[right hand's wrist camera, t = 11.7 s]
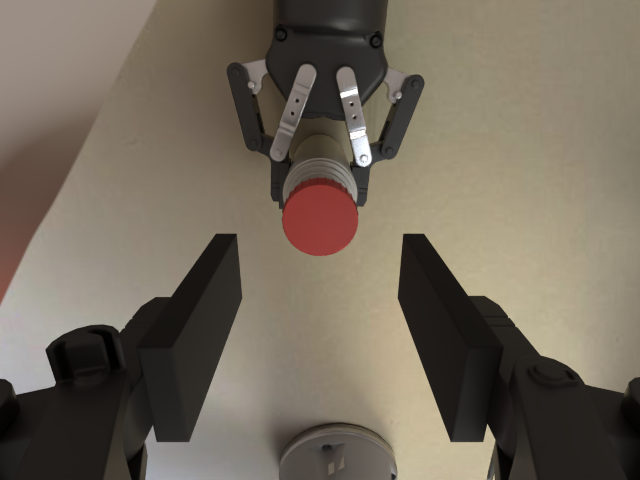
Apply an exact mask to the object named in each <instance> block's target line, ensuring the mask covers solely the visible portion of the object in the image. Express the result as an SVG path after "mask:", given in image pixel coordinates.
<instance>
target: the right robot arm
mask: <svg viewBox="0 0 640 480" xmlns="http://www.w3.org/2000/svg"><path fill="white" fill-rule="evenodd" d="M241 300H242V290H241V278H240V267H239V256H238V244H237V234H216V235H215V236H214V237H213V239H212V240H211V242H210V243H209V244H208V246H207V247H206V249H205V250H204V251H203V253H202V254H201V256H200V257H199V259H198V260H197V261H196V263H195V264H194V266H193V267H192V268H191V270H190V271H189V273H188V274H187V275H186V277H185V278H184V280H183V281H182V282H181V284H180V285H179V287H178V288H177V289H176V291H175V292H174V294H173V295H172V297H155V298H154V299H152V300H151V301H149V302H147V303H146V304H144V305H143V306H141V307H140V309H139V310H138V311H137V312H136V313H135V315H134V316H133V317H132V319H131V320H130V321H129V322H128V323H127V324H126V326H125V329H122V331H121V332H120V333H119V331H118V330H117V329H115V328H114V327H113V326H108V325H90V326H86V327H82V328H78V329H75V330H73V331H70V332H68V333H66V334H63V335H62V336H60V337H59V338H57V339H56V340H54V341H53V342H52V343H51V344H50V345H49V346H48V347H47V348H46V350H45V351H46V354H47V357H48V360H49V363H50V366H51V369H52V372H53V375H54V378H55V381H56V384H55V386H54V387H50V388H46V389H42V390H37V391H32V392H28V393H23V394H19V395H16V394H15V391H14V389H13V386H12V384H11V383H10V382H8V381H7V380H6V379H0V480H145V475H146V466H147V457H148V456H147V450H146V445H145V440H146V438H147V436H148V434H149V432H150V429H151V427H152V425H153V427H154V431H155V436H156V440H157V442H189V441H190V438H191V435H192V433H193V430H194V427H195V425H196V422H197V419H198V417H199V414H200V411H201V408H202V406H203V403H204V400H205V398H206V395H207V392H208V389H209V387H210V384H211V381H212V379H213V376H214V373H215V370H216V368H217V365H218V362H219V360H220V357H221V354H222V352H223V349H224V346H225V343H226V341H227V338H228V335H229V333H230V330H231V327H232V324H233V322H234V319H235V316H236V314H237V311H238V308H239V306H240V303H241ZM398 300H399V303H400V306H401V308H402V311H403V314H404V316H405V319H406V322H407V324H408V327H409V330H410V333H411V335H412V338H413V341H414V343H415V346H416V349H417V352H418V354H419V357H420V360H421V362H422V365H423V368H424V370H425V373H426V376H427V379H428V381H429V384H430V387H431V389H432V392H433V395H434V398H435V400H436V403H437V406H438V408H439V411H440V414H441V417H442V419H443V422H444V425H445V427H446V430H447V433H448V435H449V438H450V441H451V442H483V440H484V436H485V431H486V427H487V424H488V426H489V428H490V430H491V432H492V434H493V436H494V438H495V440H496V441H495V445H494V449H493V453H492V458H491V462H490V466H489V470H488V476H487V480H493V476H494V474H495V480H640V377H638V378H634V379H633V380H631V381H630V382H629V384H628V386H627V389H626V391H625V393H620V392H615V391H611V390H606V389H601V388H597V387H592V386H588V385H585V384H584V382H583V380H582V379H581V378H580V376H579V375H578V374H577V373H576V372H575V371H573V370H572V369H571V368H570V367H568V366H567V365H565V364H563V363H561V362H559V361H557V360H555V359H551V358H548V357H544V356H540V354H539V353H538V352H537V351H536V350H535V348H534V347H533V346H532V345H531V343H530V342H529V341H528V340H527V339H526V337H525V336H524V335H523V334H522V333H521V331H520V330H519V329H518V328H517V327H515V324H514V323H513V322H512V320H511V319H510V318H508V315H507V314H506V313H505V312H504V311H503V309H502V308H501V307H500V306H499V305H498V304H496V303H495V302H493V301H492V300H490V299H489V298H487V297H485V296H468V295H467V294H466V292H465V291H464V289H463V288H462V287H461V285H460V284H459V282H458V281H457V280H456V278H455V277H454V275H453V274H452V273H451V271H450V270H449V268H448V267H447V266H446V264H445V263H444V261H443V260H442V259H441V257H440V256H439V254H438V253H437V251H436V250H435V249H434V247H433V246H432V244H431V243H430V242H429V240H428V239H427V237H426V236H425V235H424V234H403V244H402V256H401V267H400V278H399V289H398ZM279 480H397V467H396V462H395V457H394V454H393V452H392V450H391V448H390V446H389V445H388V444H387V443H386V442H385V441H384V439H382V438H381V437H380V436H378V435H377V434H375V433H373V432H372V431H369V430H367V429H365V428H361V427H358V426H353V425H346V424H331V425H324V426H319V427H316V428H313V429H310V430H308V431H306V432H303V433H302V434H300V435H299V436H297V437H296V438H294V439H293V440H292V441H291V442H290V443H289V444H288V445H287V447H286V448H285V450H284V452H283V454H282V457H281V461H280V470H279Z"/></svg>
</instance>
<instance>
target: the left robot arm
mask: <svg viewBox="0 0 640 480" xmlns="http://www.w3.org/2000/svg"><path fill="white" fill-rule="evenodd" d="M387 5H388V0H274V13H273V40H272V44H271V46H270V49H269V50H268V52H267V54H266V58H265V59H262V60H257V61H253V62H248V63H244V64H241V63H231V64H230V65H229V66H228V68H227V75H228V79H229V83H230V87H231V90H232V94H233V98H234V102H235V106H236V110H237V113H238V117H239V121H240V125H241V129H242V132H243V136H244V140H245V144H246V146H247V148H248V149H249V150H251V151H258V152H260V153H262V154H265V155H266V156H268V157H269V159H270V161H271V197H272V199H273V201H277V202H279V209H283V208H284V201H283V187H284V183H285V180H286V177H287V175H288V172H289V169H290V167H291V158H289V148H290V146H291V143H292V140H293V138H294V135H295V132H296V130H297V127H298V125H299V122H300V120H301V117H302V118H311V119H313V118H318V117H322V116H324V117H327V118H330V119H333V120H341V121H345V124H346V128H347V132H348V136H349V140H350V144H351V148H352V152H353V162H350V169H351V172H352V174H353V177H354V180H355V182H356V186H357V201H356V206H362V207H363V206H364V204H365V202H366V199H367V190H368V181H369V173H370V168H371V166H372V165H373V164H374V163H375V162H378V161H381V160H384V159H392V158H394V157H395V156H396V154H397V152H398V150H399V147H400V145H401V142H402V140H403V137H404V135H405V132H406V130H407V127H408V125H409V122H410V120H411V117H412V115H413V112H414V110H415V107H416V105H417V102H418V100H419V97H420V95H421V92H422V90H423V87H424V79H423V78H422V77H421V76H420V75H407V74H404V73H402V72H399V71H396V70H394V69H391V68H388V63H387V60H386V57H385V54H384V49H383V41H384V32H385V23H386V14H387ZM267 74H269V75H270V77H271V78H272V80H273V81H274V83H275V85H276V86H277V88H278V89H279V91H280V93H281V94H282V96H283V97H284V99H285V101H286V102H287V104H286V107H285V110H284V113H283V115H282V118H281V121H280V124H279V127H278V130H277V133H276V136H275V138H274V137H271V136H269V135H267V134H265V130H264V126H263V122H262V118H261V114H260V110H259V105H258V101H257V97H256V94H258V93H260V92H261V91H262V89H263V79H264V77H265V76H266V75H267ZM382 82H384V83H385V84H386V86H387V94H386V96H387V99H388V101H389V102H391V103H392V105H391V108H390V111H389V113H388V116H387V119H386V121H385V124H384V127H383V129H382V132H381V135H380V137H379V140H378V141H377V142H374V143H370V144H369V141H368V137H367V130H366V125H365V121H364V116H363V112H362V106H363V105H364V104H365V103H366V101H367V100H368V99H369V98H370V97H371V95H372V94H373V93H374V92H375V90H376V89H377V88H378V87H379V86H380V84H381V83H382Z"/></svg>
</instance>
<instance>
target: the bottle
mask: <svg viewBox="0 0 640 480" xmlns="http://www.w3.org/2000/svg"><path fill="white" fill-rule="evenodd" d="M317 177H318V178H325V177H326V178H327V179H331V180H332V179H334V181H336V182H338V183H341V185H343V186H344V187H345V188H347V189H348V191H349V193H350V194H352V196H353V201H354V200H355V203H356V201H357V186H356V182H355V180H354V177H353V174H352V172H351V169H350V166H349V164H348V161H347V158H346V156H345V153H344V150H343V148H342V147H341V145H340V144H339V143H338V142H337V141H336V140H335V139H334V138H332V137H330V136H327V135H313V136H310V137H308V138H306V139H305V140H304V141H303V142H302V143H301V144H300V145H299V147H298V148H297V150H296V153H295V156H294V158H293V161H292V164H291V167H290V169H289V172H288V175H287V177H286V180H285V183H284V187H283V201H284V205H285V201H286V198H288V197H289V193H290V191H291V192H292V191H293V189H294V188H295V186H298V185H299V184H300V183H301V182H302V181H303V182H304V181H306V180H309V178H310V179H313V178H317Z"/></svg>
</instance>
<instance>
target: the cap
mask: <svg viewBox="0 0 640 480" xmlns="http://www.w3.org/2000/svg"><path fill="white" fill-rule="evenodd" d="M282 213H283V217H282V223H283V229H284V232H285V234H286V236H287V238H288V240H289V241H290V242H291V244H293V245H294V246H295V247H296V248H297V249H298V250H300V251H302V252H304V253H306V254H310V255H314V256H326V255H331V254H334V253H336V252H338V251H340V250H342V249H343V248H345V247H346V246H347V245H348V244H349V243H350V242H351V240H352V239H353V237H354V235H355V233H356V230H357V226H358V211H357V206H356V203H355V200H354V201H353V196H352V194H350V193H349V191H348V189H347V188H345V187H344V186H343V185H341V183H338V182H336V181H334V179H332V180H331V179H327V178H326V177H325V178H318V177H317V178H313V179H310V178H309V180H306V181H304V182H303V181H302V182H301V183H300V184H299V185H298V186H295V188H294V189H293V191H292V192H291V191H290V193H289V197H288V198H286V201H285V205H284V208H283V211H282Z"/></svg>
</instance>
